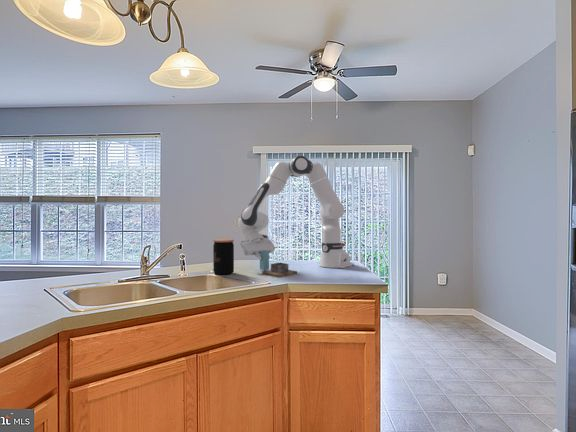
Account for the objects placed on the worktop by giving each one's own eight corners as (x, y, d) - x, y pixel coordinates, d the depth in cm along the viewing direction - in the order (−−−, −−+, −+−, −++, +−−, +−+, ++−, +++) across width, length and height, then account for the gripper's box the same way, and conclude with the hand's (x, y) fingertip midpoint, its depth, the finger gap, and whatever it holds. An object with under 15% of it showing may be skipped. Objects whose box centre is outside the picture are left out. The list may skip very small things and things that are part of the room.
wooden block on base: (281, 270, 185) (281, 261, 185) (297, 273, 176) (297, 263, 176) (262, 273, 176) (262, 264, 176) (277, 277, 167) (277, 266, 167)
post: (264, 268, 188) (264, 250, 188) (269, 269, 185) (268, 251, 185) (259, 269, 186) (259, 251, 185) (263, 270, 183) (263, 252, 183)
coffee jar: (212, 272, 181) (212, 239, 180) (232, 271, 184) (232, 238, 183) (214, 276, 170) (214, 240, 170) (235, 274, 174) (235, 240, 173)
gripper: (241, 237, 183) (252, 257, 176) (270, 235, 197) (281, 253, 190) (237, 245, 187) (247, 264, 180) (265, 242, 200) (276, 260, 193)
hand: (265, 258), depth 185 cm, fingers closed on post, 4 cm apart
